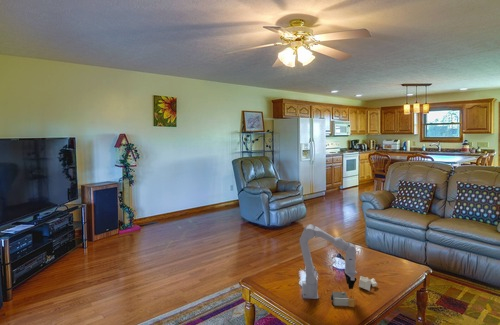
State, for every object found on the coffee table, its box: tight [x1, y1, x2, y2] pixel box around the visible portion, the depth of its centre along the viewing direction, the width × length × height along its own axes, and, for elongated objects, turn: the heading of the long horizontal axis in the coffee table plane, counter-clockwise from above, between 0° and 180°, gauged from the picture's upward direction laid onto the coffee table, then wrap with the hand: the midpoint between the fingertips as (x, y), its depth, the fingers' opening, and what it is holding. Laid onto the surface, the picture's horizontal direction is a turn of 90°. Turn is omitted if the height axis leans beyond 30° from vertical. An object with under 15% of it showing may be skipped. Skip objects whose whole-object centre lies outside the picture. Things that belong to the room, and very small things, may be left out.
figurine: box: [358, 275, 378, 292], centre depth 196 cm, size 7×9×15 cm
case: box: [330, 291, 349, 302], centre depth 179 cm, size 9×6×5 cm, turn 84°
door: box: [332, 297, 355, 308], centre depth 175 cm, size 12×1×5 cm, turn 83°
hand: (349, 286), depth 179 cm, fingers open, 5 cm apart
